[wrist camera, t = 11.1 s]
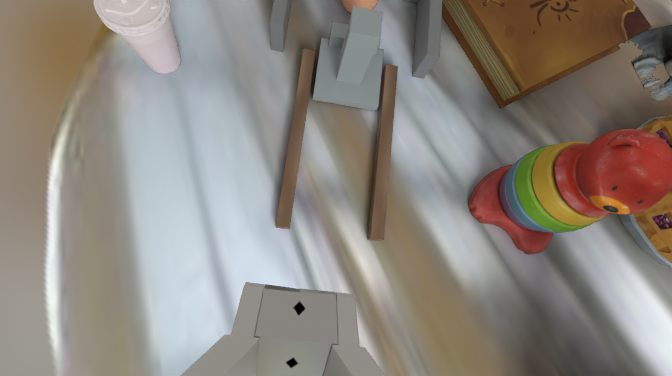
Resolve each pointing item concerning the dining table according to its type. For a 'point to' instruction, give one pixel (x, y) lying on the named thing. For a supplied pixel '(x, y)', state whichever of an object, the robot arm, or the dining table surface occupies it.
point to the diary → (538, 38)
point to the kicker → (351, 62)
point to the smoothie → (144, 30)
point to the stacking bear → (574, 186)
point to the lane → (381, 153)
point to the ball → (359, 4)
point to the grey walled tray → (424, 34)
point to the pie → (654, 208)
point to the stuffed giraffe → (655, 58)
